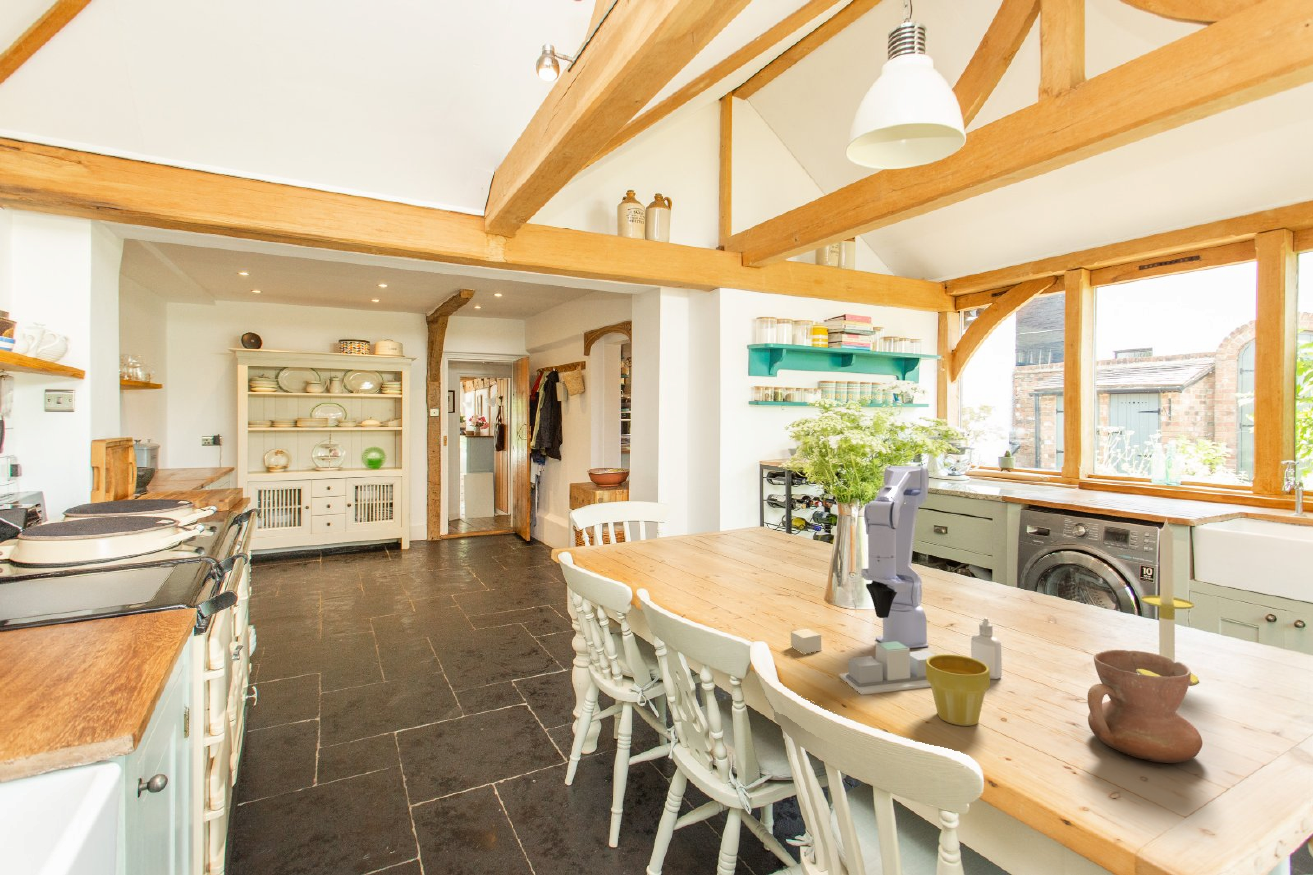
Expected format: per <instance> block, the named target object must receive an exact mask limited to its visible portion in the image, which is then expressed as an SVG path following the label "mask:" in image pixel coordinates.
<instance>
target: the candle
mask: <svg viewBox="0 0 1313 875" xmlns="http://www.w3.org/2000/svg"><path fill="white" fill-rule="evenodd" d="M1140 600H1141V602H1143V603H1144V604H1147V605H1151V606H1153V607H1158V644H1159V645H1158V652H1159V653H1158V655H1162V656H1166V657H1169V658H1171V659H1172V660H1173V661H1174V662H1175V663H1176V654H1175V653H1176V646H1175V644H1176V642H1175V641H1176V640H1175V638H1176V637H1175V636H1176V634H1175V633H1176V632H1175V630H1176V627H1175V625H1176V624H1175V623H1176V622H1175V621H1176V620H1175V616H1176V615H1175V614H1176V613H1175V612H1176V611H1175V610H1189V609H1192V608H1194V607H1195V605H1194V603H1193V602H1192V601H1189V600H1185V599H1182V598H1179V597H1174V530H1173V529H1171V527H1170V525H1169V521H1168V518H1166V519H1165V521H1164V524H1163V526H1162V528H1160V529H1159V595H1152V594H1151V595H1150V594H1149V595H1143V596H1141V597H1140ZM1137 673H1138V674H1142V675H1149V676H1157V677H1159V676H1160V675H1158V674H1155V673H1153V672H1151V671H1148V670H1144V669H1137ZM1161 677H1162V676H1161ZM1190 679H1191V681H1192V684H1191V685H1190V686H1193V685H1197V684H1199V683H1200V679H1199V678H1198V676H1197V675H1195V674H1194V673H1191V678H1190Z"/></svg>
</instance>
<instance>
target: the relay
mask: <svg viewBox="0 0 1313 875" xmlns="http://www.w3.org/2000/svg"><path fill="white" fill-rule="evenodd" d="M791 646H792V647H794V648H795V649H796V650H799V651H801V652H802V653H803V654H802V653H801V654H802V655H806V654H805V653H809V654H812V653H811V652H814V651H815V652H814V653H817V652H816V651H819V652H821V651H822V634H820V633H818V632H816V631H814V630H812V629H810V628H804V629H798V630H793V631H790V647H791ZM796 650H795V651H796ZM820 650H821V651H820Z"/></svg>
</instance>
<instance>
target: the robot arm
mask: <svg viewBox="0 0 1313 875" xmlns="http://www.w3.org/2000/svg"><path fill="white" fill-rule="evenodd" d="M883 472H884V473H883V484H884V486H882V487H881V488H880V489H879V491H878V492H877V494H876V496H875V498H874V500H869V502H867V503H866V504H865V506H864V512H863V517H864V519H863V520H864V524H865V534H866V535H867V538H868V539H867V544H868V546H867V549H868V550H867V551H868V552H867V553H868V554H867V555H868V557H867V558H868V560H867V562H868V563H867V565H868V566H867V567H868V568H861V569H860V571H861V572H860V573H861V574H860V576H861V578H863V579H864V580H866V581H871V583H866V584H865V587H866V589H867V591H868V593H869V594H870V597H871V600H872V603H873V606H874V607H873V608H874V611H875V614H876V617H878V618H879V619H882V635H881V636H875V639H876V640H877V641H878V642H879V643H884V642H894V641H898V642H899V643H901V644H903V645H904V646H906V647H908V648H909V649H914V648H924V647H929V645H930V644H929V643H928V641H927V640H928V634H927V631H928V630H927V615H926V613H925V610H924V609H923V608H922V607H921V606H920V605H921V604H922V596H923V588H922V583H923V581H922V578H921V576H920V574H919V573H918V572H917V571H916V570H914V569H913V568H912V560H913V551H914V550H913V549H914V543H915V542H914V541H915V532H916V524H917V523H916V521H917V515H918V510H919V507H920V505H922V504H923V503H925V502H926V501H927V498H928V495H929V494H928V492H929V481H930V480H929V479H930V476H929V474H930V473H929V469H928V468H927V466H926V465H920V466H917V465H914V466H913V465H890V464H888V465H886V467H885V468H884V470H883ZM905 502H906V504H904V503H905Z"/></svg>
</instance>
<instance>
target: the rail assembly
mask: <svg viewBox="0 0 1313 875" xmlns="http://www.w3.org/2000/svg"><path fill="white" fill-rule="evenodd" d="M934 655H935V654H934V653H932V652H930V651H928V650H926V649H925V650H915V651H910V678H907V679H898V680H886V679H885V678H884V677H883V674H882V663H880V662H879V661H877V660H876V658H875V657H873V656H872V655H867V656H857V657H848V672H844V673H839V674H838V675H839V676H838V677H839V678H841V680H842V681H844V682H845V683H846V682H847V683H848V684H847V683H846V684H847V685H848V686H850V687H851V688H852V687H853V688H854V691H856V692H857V691H858V692H857V693H858V694H859V693H860V696H864V695H872V694H880V693H888V692H891V693H892V692H897V691H905V690H915V689H925V688H931V684H930V683H929V682H928V680H927V678H926V660H927V658H929V657H931V656H934Z"/></svg>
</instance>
